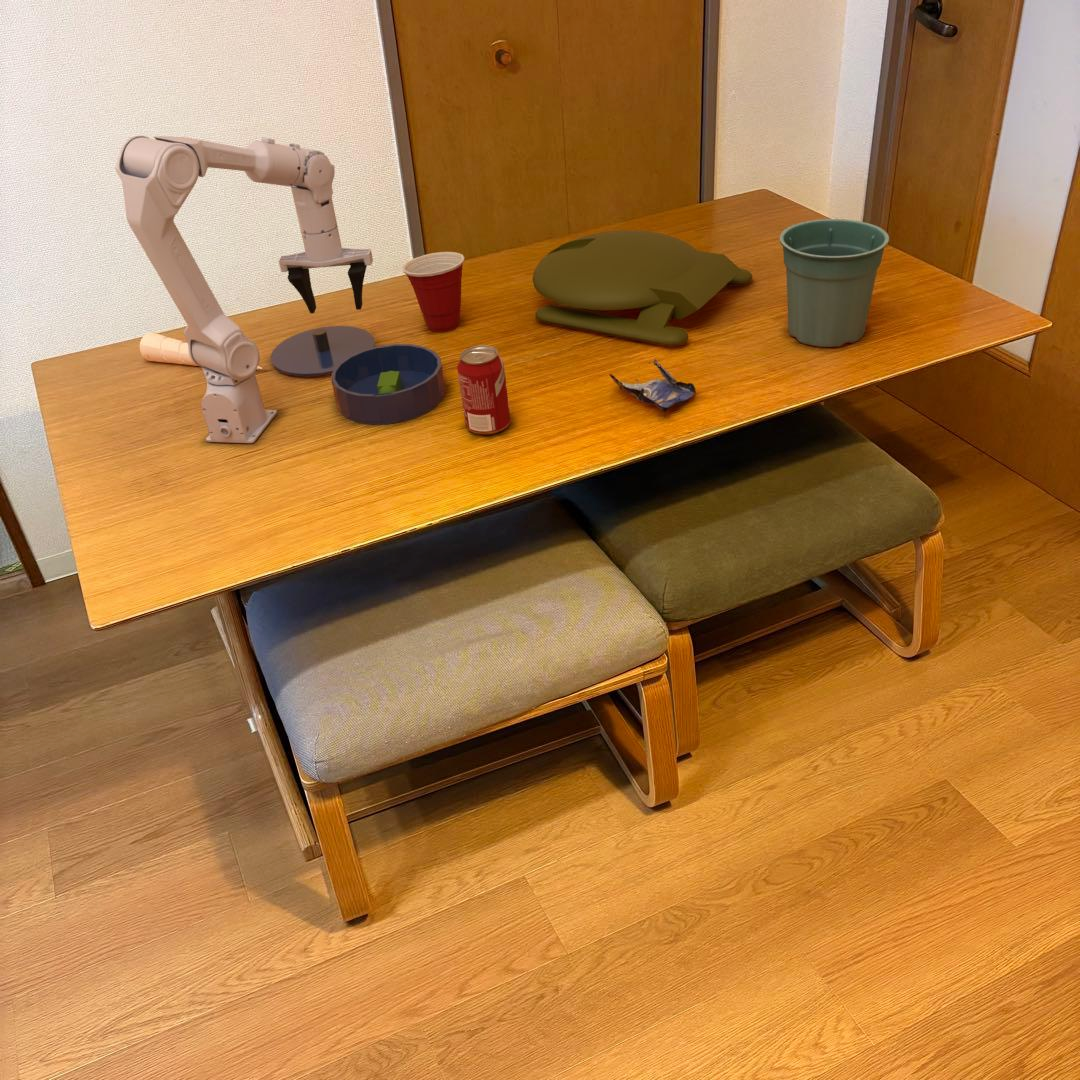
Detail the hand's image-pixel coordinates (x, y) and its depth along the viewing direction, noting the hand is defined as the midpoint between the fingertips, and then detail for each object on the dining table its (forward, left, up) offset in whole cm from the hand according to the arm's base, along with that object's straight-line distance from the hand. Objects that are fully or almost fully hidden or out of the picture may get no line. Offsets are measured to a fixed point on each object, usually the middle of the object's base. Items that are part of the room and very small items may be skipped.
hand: (336, 308), depth 177 cm
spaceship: (+27, -44, -11) cm, 53 cm away
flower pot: (+15, -78, -11) cm, 80 cm away
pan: (-10, -11, -10) cm, 18 cm away
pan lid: (+4, +6, -10) cm, 12 cm away
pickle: (-10, -11, -10) cm, 18 cm away
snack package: (-9, -53, -11) cm, 54 cm away
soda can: (-18, -29, -11) cm, 36 cm away
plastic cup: (+16, -12, -11) cm, 23 cm away
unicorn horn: (0, +27, -11) cm, 29 cm away
